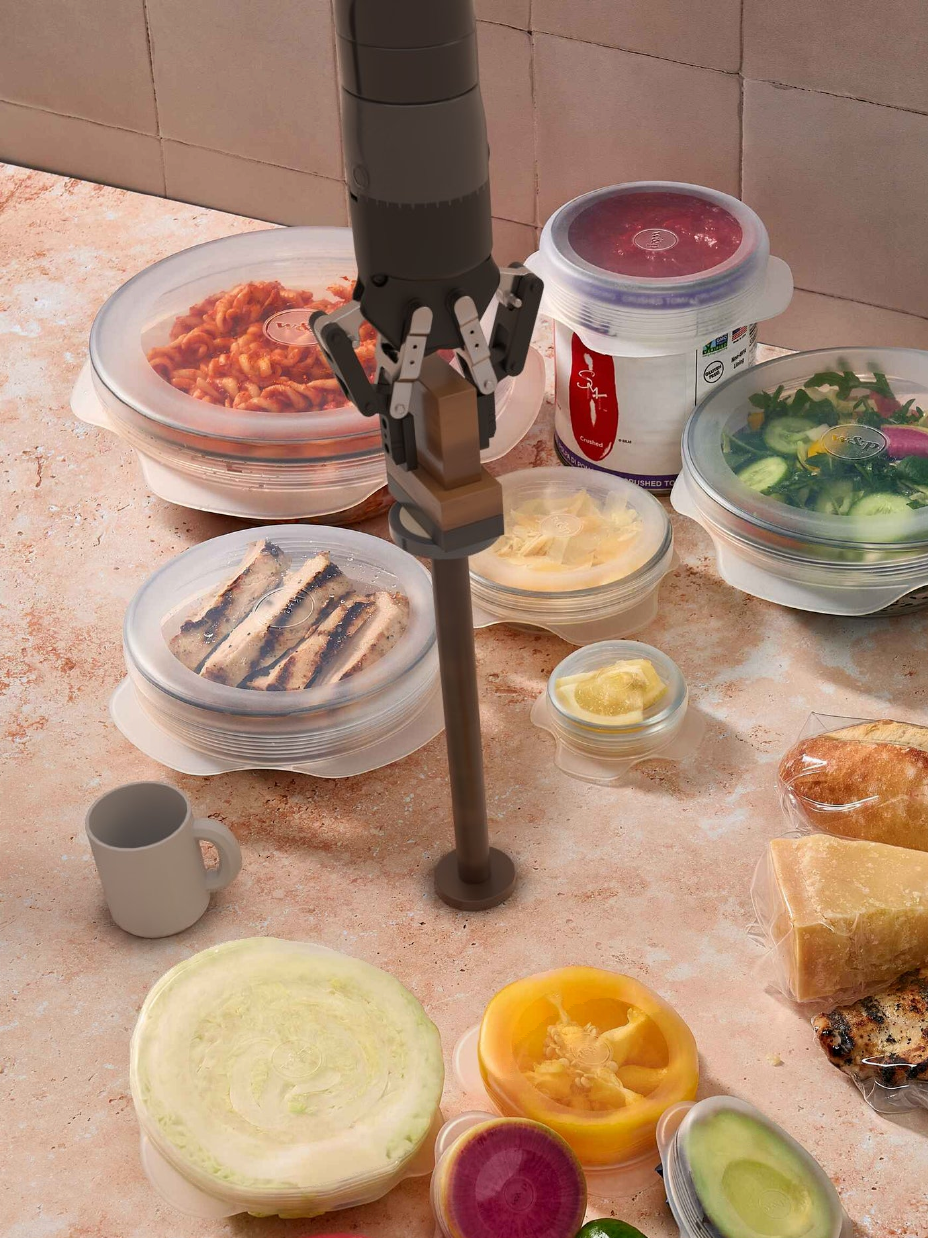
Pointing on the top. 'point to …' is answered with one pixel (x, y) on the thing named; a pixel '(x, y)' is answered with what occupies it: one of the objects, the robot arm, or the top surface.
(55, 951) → the top surface
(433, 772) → the top surface
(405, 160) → the robot arm
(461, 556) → the plate
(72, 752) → the top surface
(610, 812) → the top surface
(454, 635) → the stand
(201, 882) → the cup
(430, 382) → the brush
